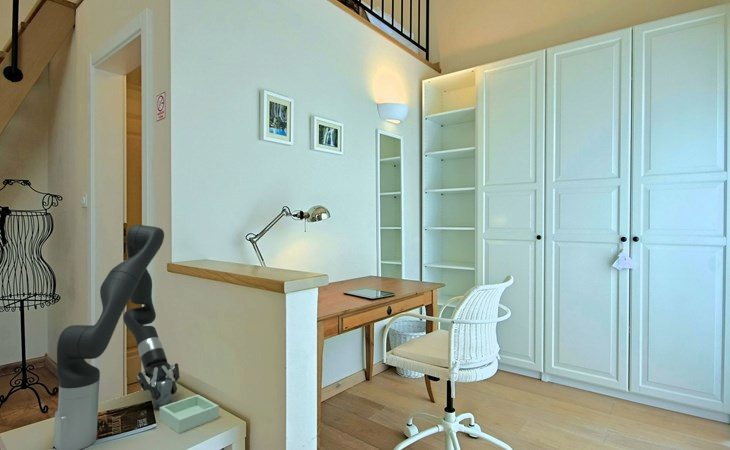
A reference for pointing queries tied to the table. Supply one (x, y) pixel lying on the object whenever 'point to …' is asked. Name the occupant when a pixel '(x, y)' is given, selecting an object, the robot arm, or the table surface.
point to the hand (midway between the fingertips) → (166, 395)
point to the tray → (188, 413)
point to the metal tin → (163, 392)
